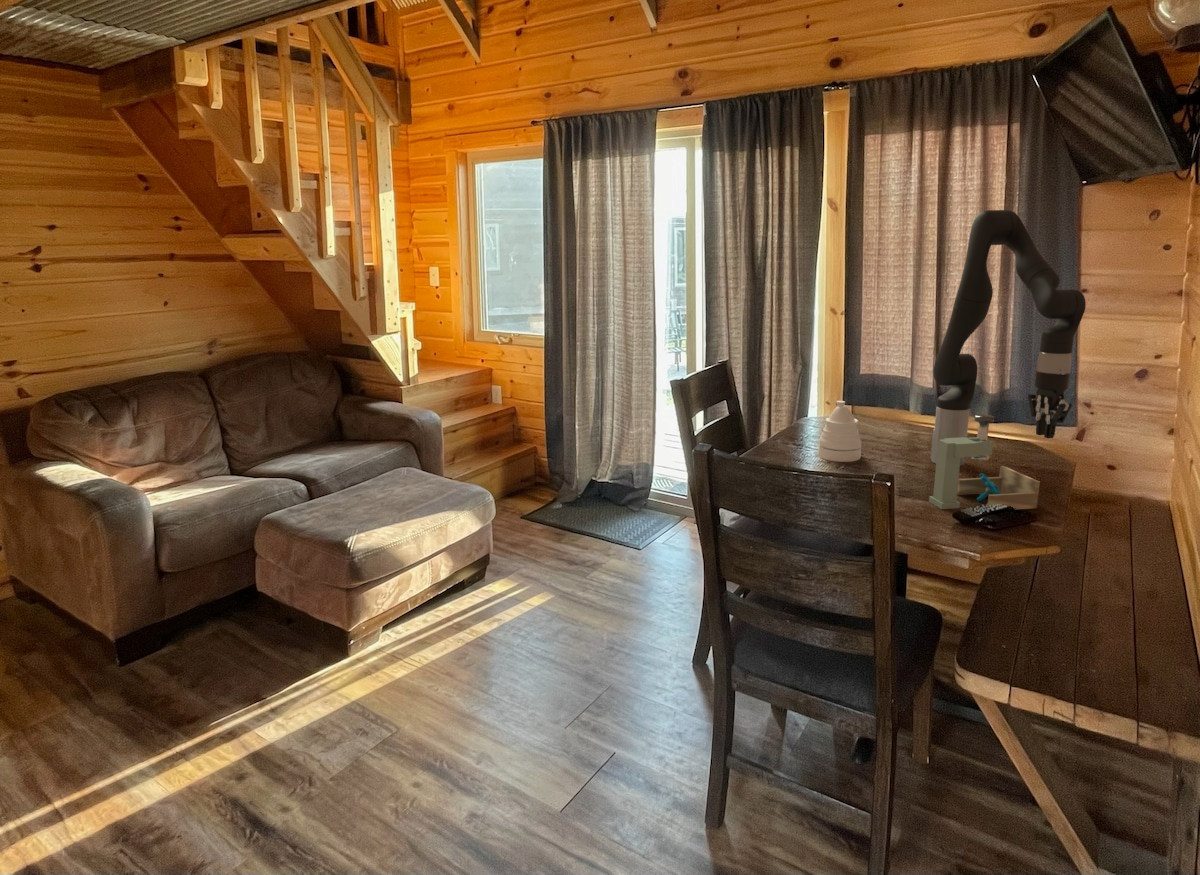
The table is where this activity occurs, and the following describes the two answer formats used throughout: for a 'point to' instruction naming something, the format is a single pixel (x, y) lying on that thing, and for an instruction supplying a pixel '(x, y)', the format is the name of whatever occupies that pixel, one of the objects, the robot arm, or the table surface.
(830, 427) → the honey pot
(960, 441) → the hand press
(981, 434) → the ram
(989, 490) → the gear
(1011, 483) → the tan open box
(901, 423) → the table surface
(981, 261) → the robot arm
